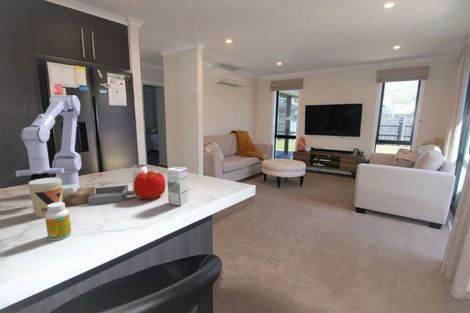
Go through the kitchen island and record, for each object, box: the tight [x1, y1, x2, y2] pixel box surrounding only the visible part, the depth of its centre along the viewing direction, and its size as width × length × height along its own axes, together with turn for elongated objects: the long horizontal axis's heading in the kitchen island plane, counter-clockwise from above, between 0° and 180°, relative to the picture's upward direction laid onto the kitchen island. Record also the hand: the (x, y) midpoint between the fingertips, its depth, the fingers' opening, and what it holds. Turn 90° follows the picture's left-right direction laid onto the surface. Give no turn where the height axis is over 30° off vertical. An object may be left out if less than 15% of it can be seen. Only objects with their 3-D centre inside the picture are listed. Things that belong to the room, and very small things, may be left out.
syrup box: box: [166, 166, 189, 207], centre depth 92 cm, size 6×6×14 cm
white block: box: [62, 184, 78, 195], centre depth 94 cm, size 6×6×2 cm
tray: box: [88, 184, 129, 206], centre depth 100 cm, size 13×14×3 cm
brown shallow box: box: [62, 186, 96, 207], centre depth 95 cm, size 13×10×4 cm
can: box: [131, 164, 148, 192], centre depth 108 cm, size 6×6×12 cm
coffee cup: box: [27, 176, 62, 218], centre depth 83 cm, size 9×9×12 cm
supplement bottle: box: [44, 202, 72, 241], centre depth 67 cm, size 5×5×10 cm
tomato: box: [133, 170, 166, 200], centre depth 100 cm, size 14×13×10 cm
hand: (43, 192), depth 91 cm, fingers closed
